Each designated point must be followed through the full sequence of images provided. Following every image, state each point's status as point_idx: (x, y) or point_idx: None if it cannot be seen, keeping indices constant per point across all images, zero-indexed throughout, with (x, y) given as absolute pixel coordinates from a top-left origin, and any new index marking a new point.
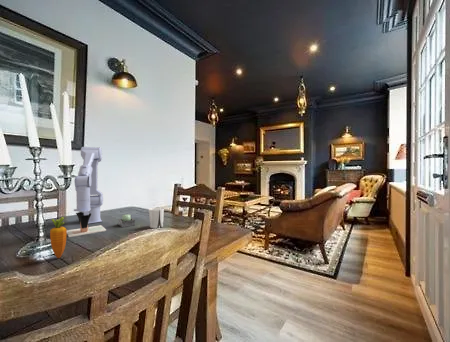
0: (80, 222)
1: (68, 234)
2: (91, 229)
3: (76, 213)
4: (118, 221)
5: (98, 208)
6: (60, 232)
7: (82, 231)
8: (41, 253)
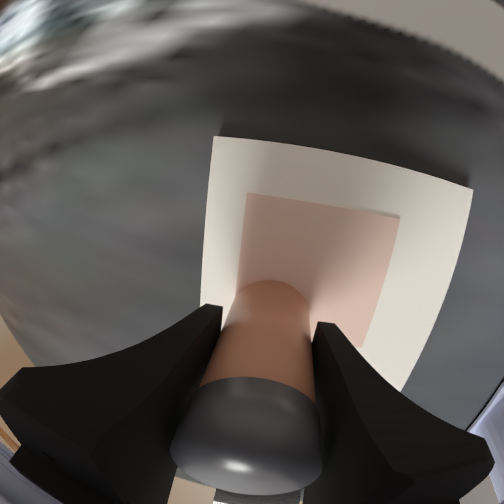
0: (260, 352)
1: (286, 148)
2: None
3: (408, 484)
4: (292, 500)
5: (499, 498)
6: None
7: (240, 291)
8: (23, 12)
